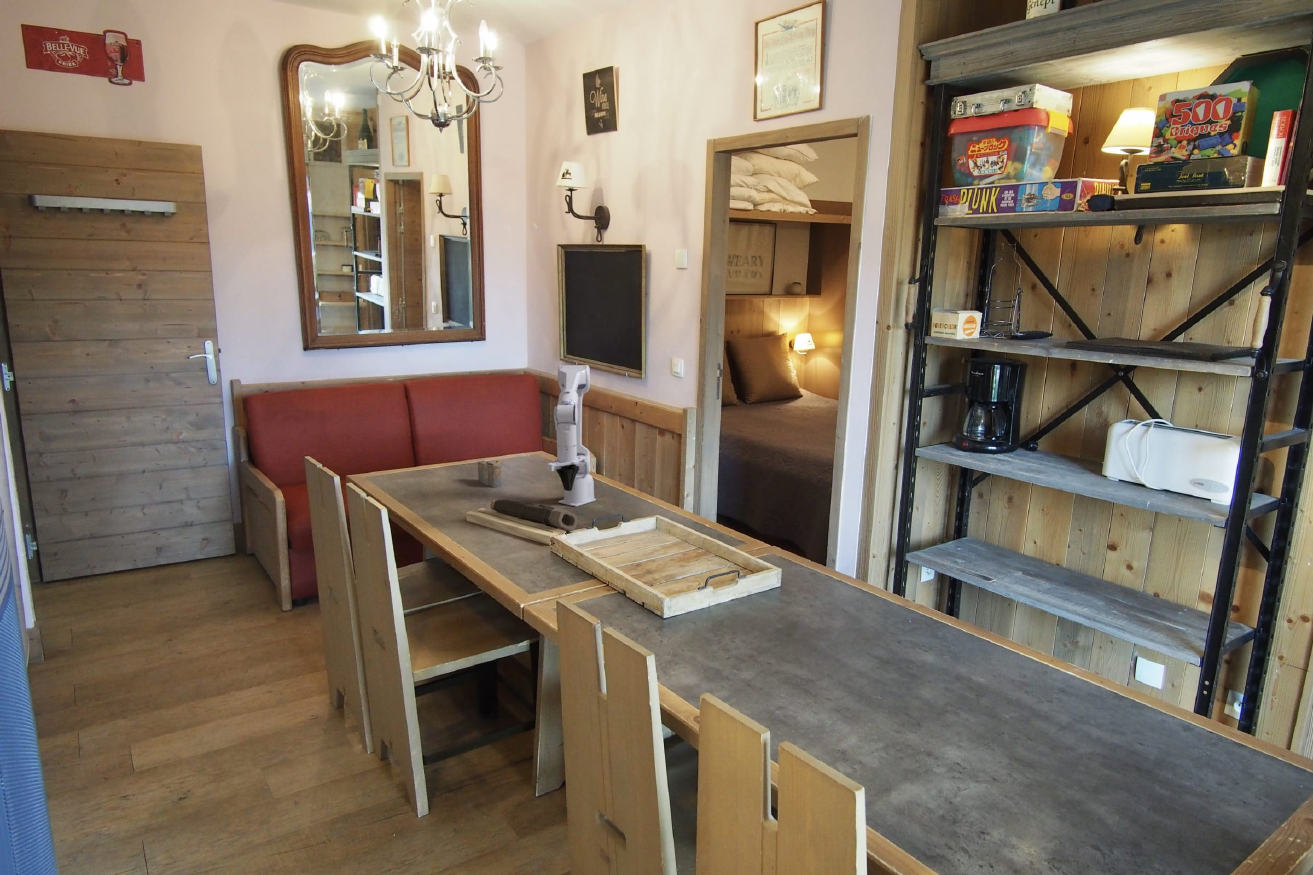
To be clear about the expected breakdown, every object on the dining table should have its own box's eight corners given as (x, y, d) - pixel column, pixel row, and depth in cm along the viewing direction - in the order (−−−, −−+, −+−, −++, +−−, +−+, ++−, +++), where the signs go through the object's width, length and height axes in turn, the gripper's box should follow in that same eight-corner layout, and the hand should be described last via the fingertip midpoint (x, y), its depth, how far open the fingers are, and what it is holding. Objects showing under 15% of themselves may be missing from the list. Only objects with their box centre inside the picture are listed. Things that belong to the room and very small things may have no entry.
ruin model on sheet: (502, 487, 281) (501, 460, 279) (494, 489, 279) (493, 461, 277) (486, 481, 289) (485, 454, 287) (478, 482, 287) (477, 456, 285)
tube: (517, 499, 252) (582, 509, 231) (514, 520, 251) (579, 532, 231) (488, 496, 244) (553, 506, 223) (485, 518, 243) (549, 530, 223)
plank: (482, 515, 247) (482, 507, 246) (566, 539, 225) (565, 530, 224) (466, 520, 242) (466, 512, 242) (550, 545, 220) (550, 536, 220)
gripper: (558, 451, 229) (559, 497, 232) (593, 442, 240) (594, 487, 243) (541, 448, 234) (542, 493, 236) (576, 439, 245) (577, 483, 247)
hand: (568, 490), depth 240 cm, fingers closed
